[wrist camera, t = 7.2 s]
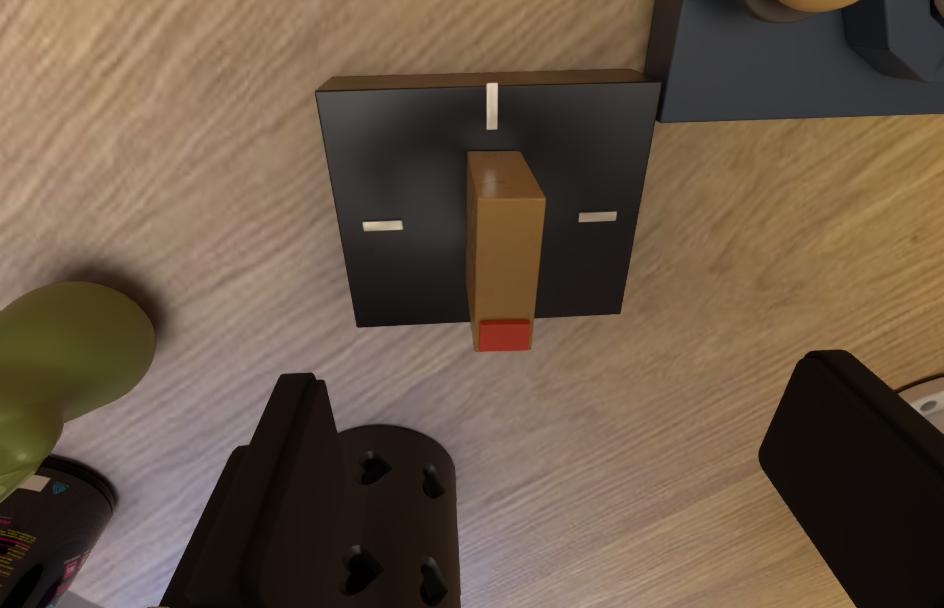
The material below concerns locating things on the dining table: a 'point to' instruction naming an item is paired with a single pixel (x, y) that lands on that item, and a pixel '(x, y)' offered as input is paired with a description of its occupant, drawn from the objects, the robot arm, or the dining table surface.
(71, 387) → the pear
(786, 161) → the dining table surface
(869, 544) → the robot arm
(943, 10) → the power button
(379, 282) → the base
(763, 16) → the lamp dome
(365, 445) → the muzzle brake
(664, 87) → the button base
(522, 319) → the orange brown rectangular block
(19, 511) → the supplement container
